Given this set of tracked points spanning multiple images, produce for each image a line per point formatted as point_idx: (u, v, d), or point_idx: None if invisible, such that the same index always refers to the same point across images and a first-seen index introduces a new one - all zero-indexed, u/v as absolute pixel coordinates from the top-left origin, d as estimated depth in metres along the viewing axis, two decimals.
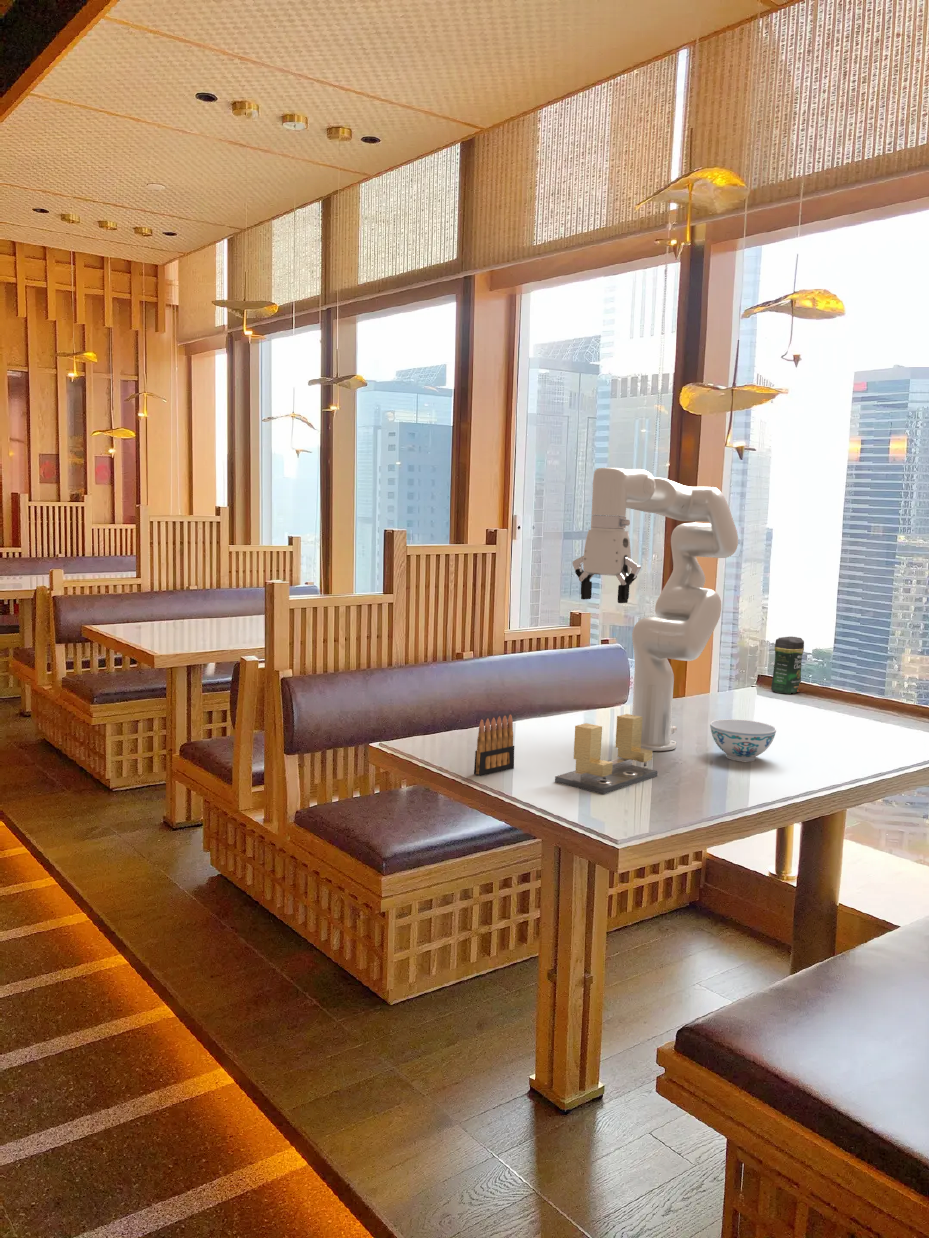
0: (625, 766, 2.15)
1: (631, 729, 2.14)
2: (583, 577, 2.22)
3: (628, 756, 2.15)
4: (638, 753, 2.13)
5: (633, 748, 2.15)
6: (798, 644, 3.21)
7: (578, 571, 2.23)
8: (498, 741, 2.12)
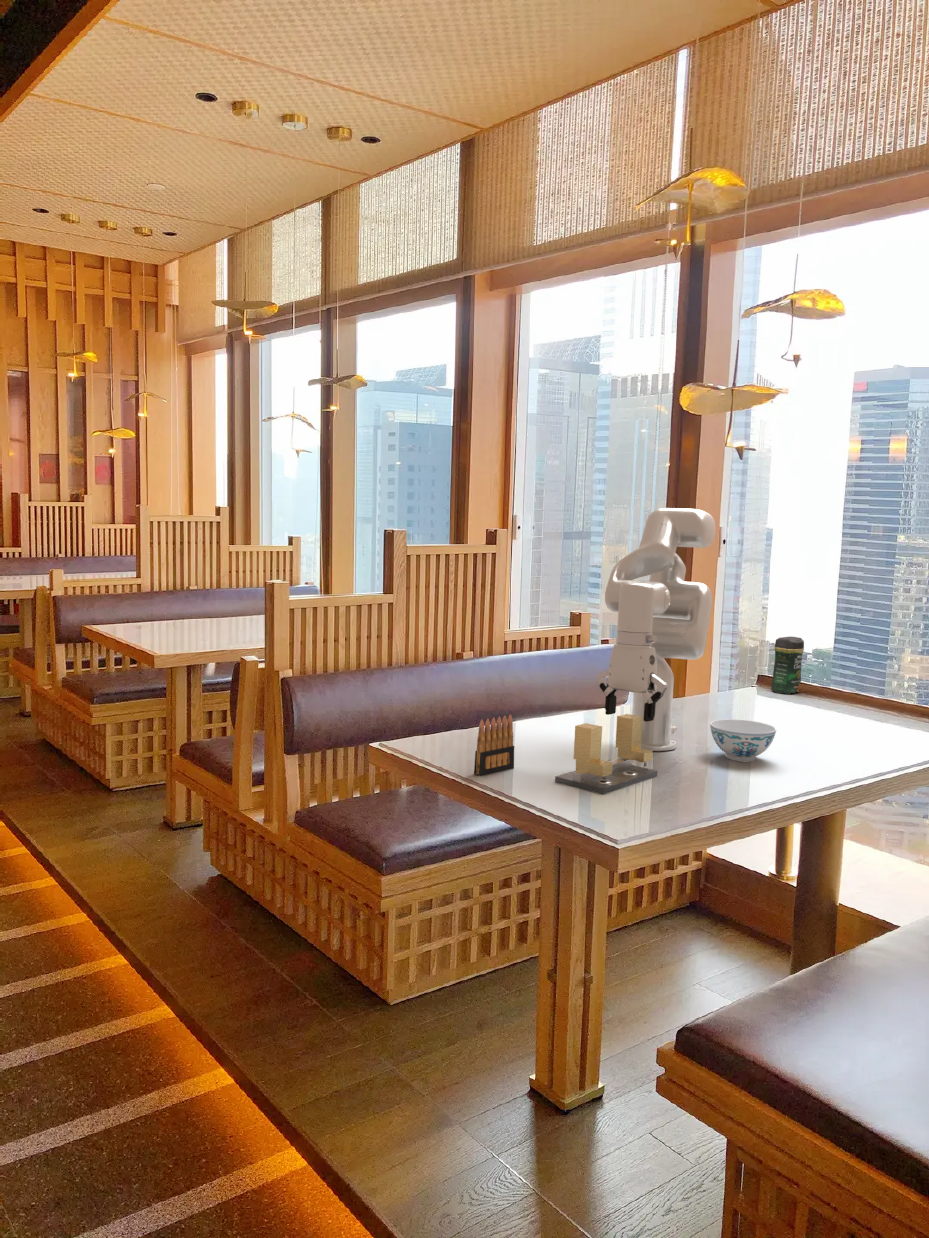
0: (625, 766, 2.15)
1: (631, 729, 2.14)
2: (608, 692, 2.17)
3: (628, 756, 2.15)
4: (638, 753, 2.13)
5: (633, 748, 2.15)
6: (798, 644, 3.21)
7: (602, 685, 2.19)
8: (498, 741, 2.12)
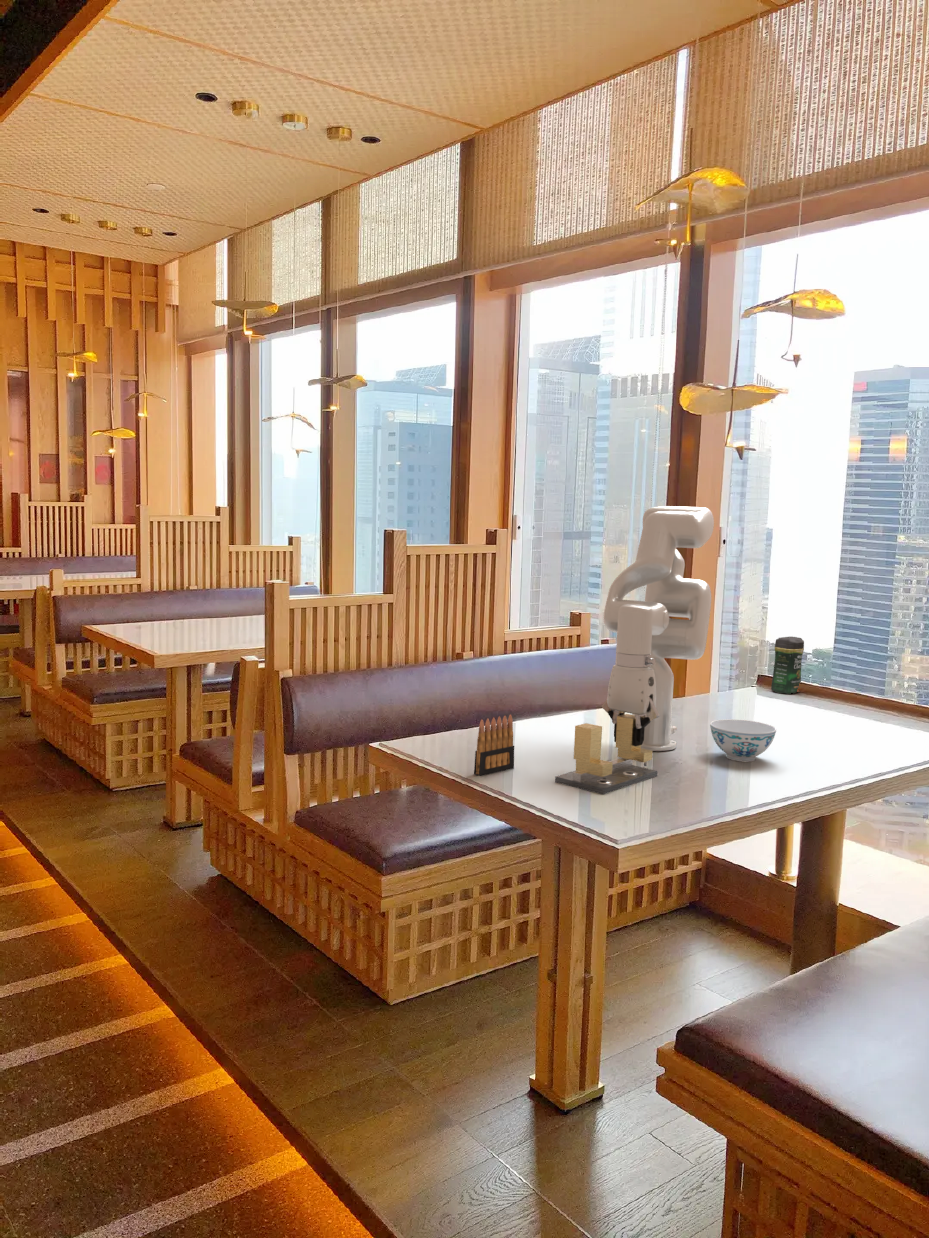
0: (625, 766, 2.15)
1: (631, 729, 2.14)
2: (616, 720, 2.17)
3: (628, 756, 2.15)
4: (638, 753, 2.13)
5: (633, 748, 2.15)
6: (798, 644, 3.21)
7: (611, 713, 2.18)
8: (498, 741, 2.12)
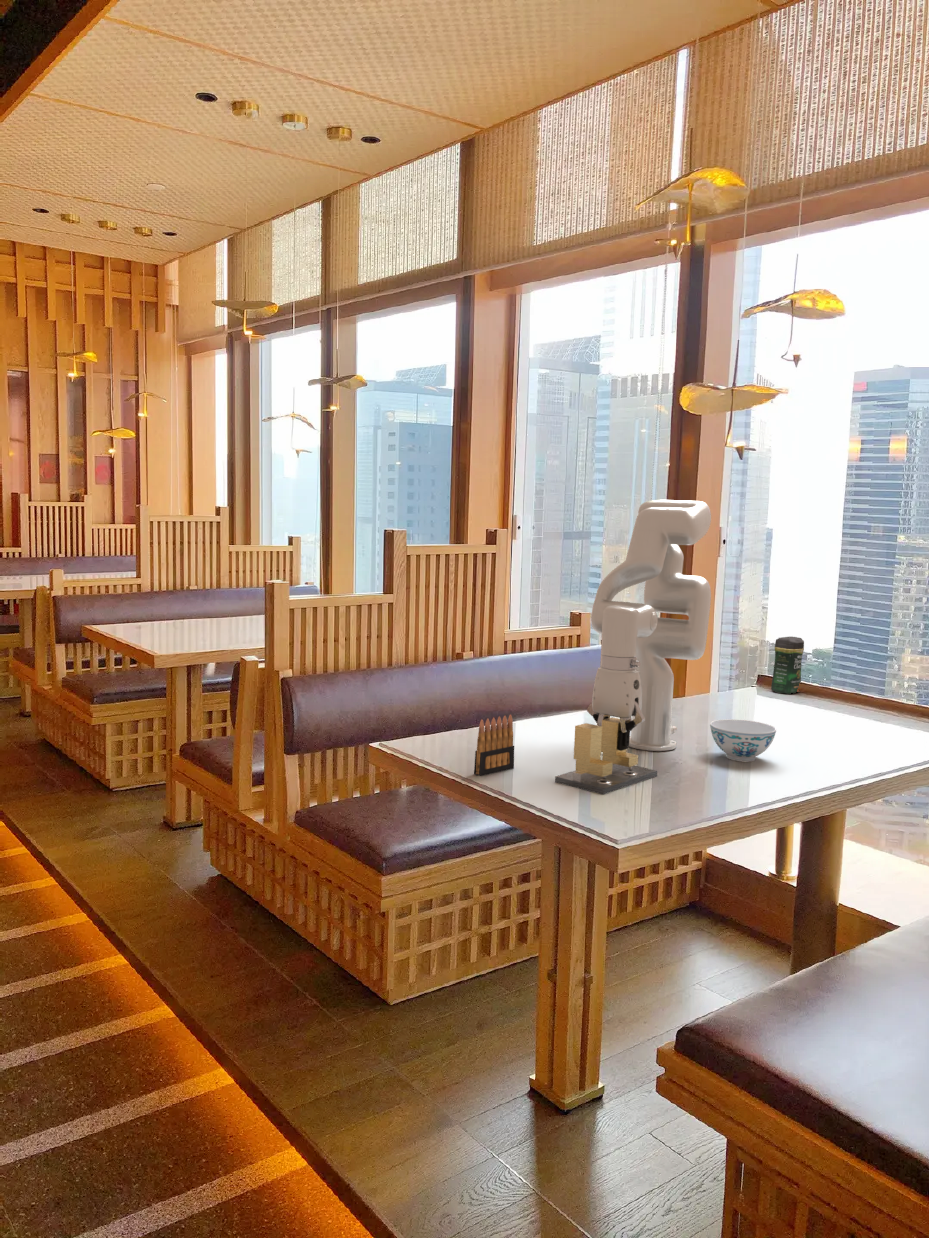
0: (625, 766, 2.15)
1: (616, 733, 2.09)
2: (601, 723, 2.12)
3: (613, 761, 2.10)
4: (623, 757, 2.09)
5: (618, 752, 2.10)
6: (798, 644, 3.21)
7: (596, 716, 2.14)
8: (498, 741, 2.12)
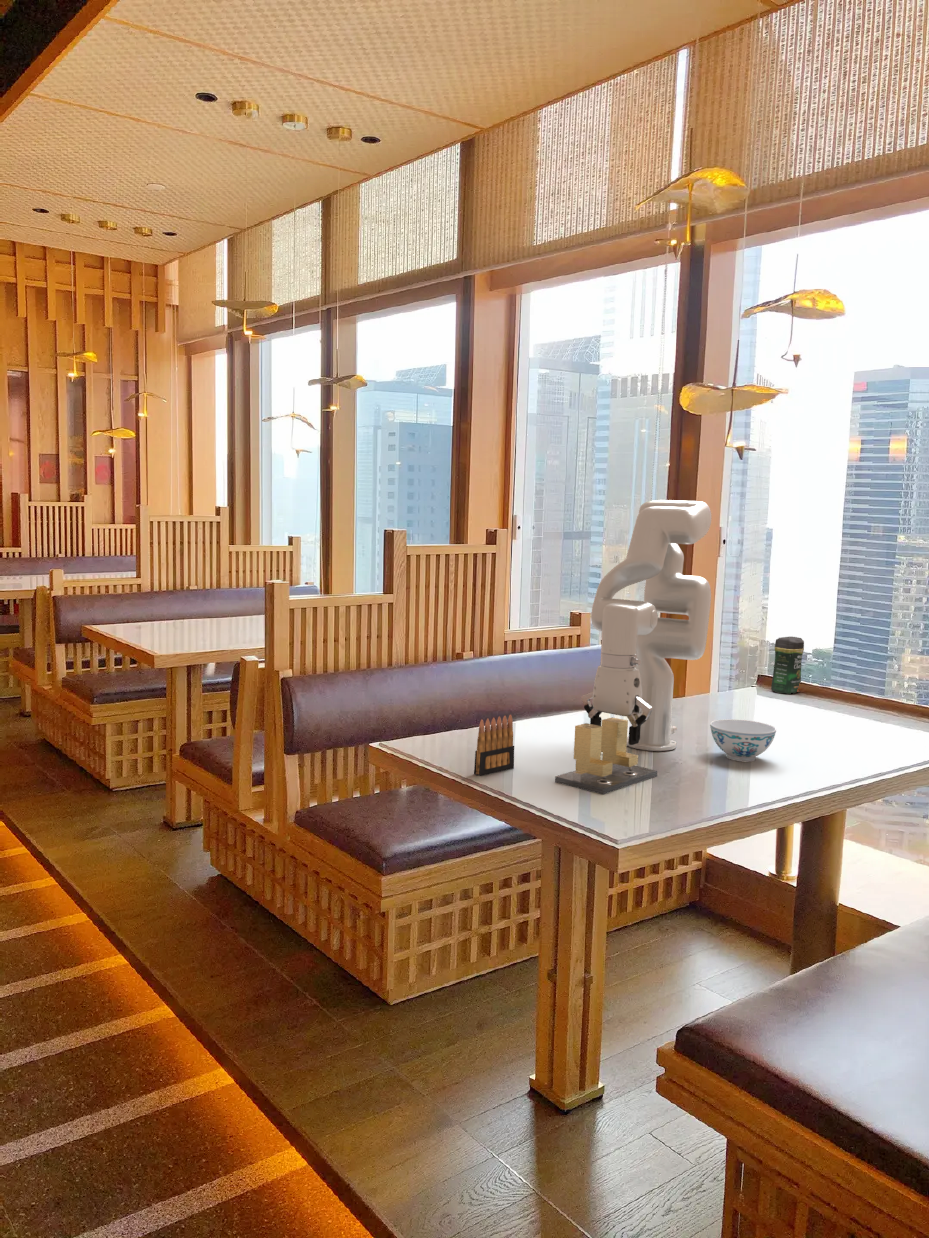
0: (625, 766, 2.15)
1: (616, 733, 2.09)
2: (592, 714, 2.14)
3: (613, 761, 2.10)
4: (623, 757, 2.09)
5: (618, 752, 2.10)
6: (798, 644, 3.21)
7: (587, 707, 2.15)
8: (498, 741, 2.12)
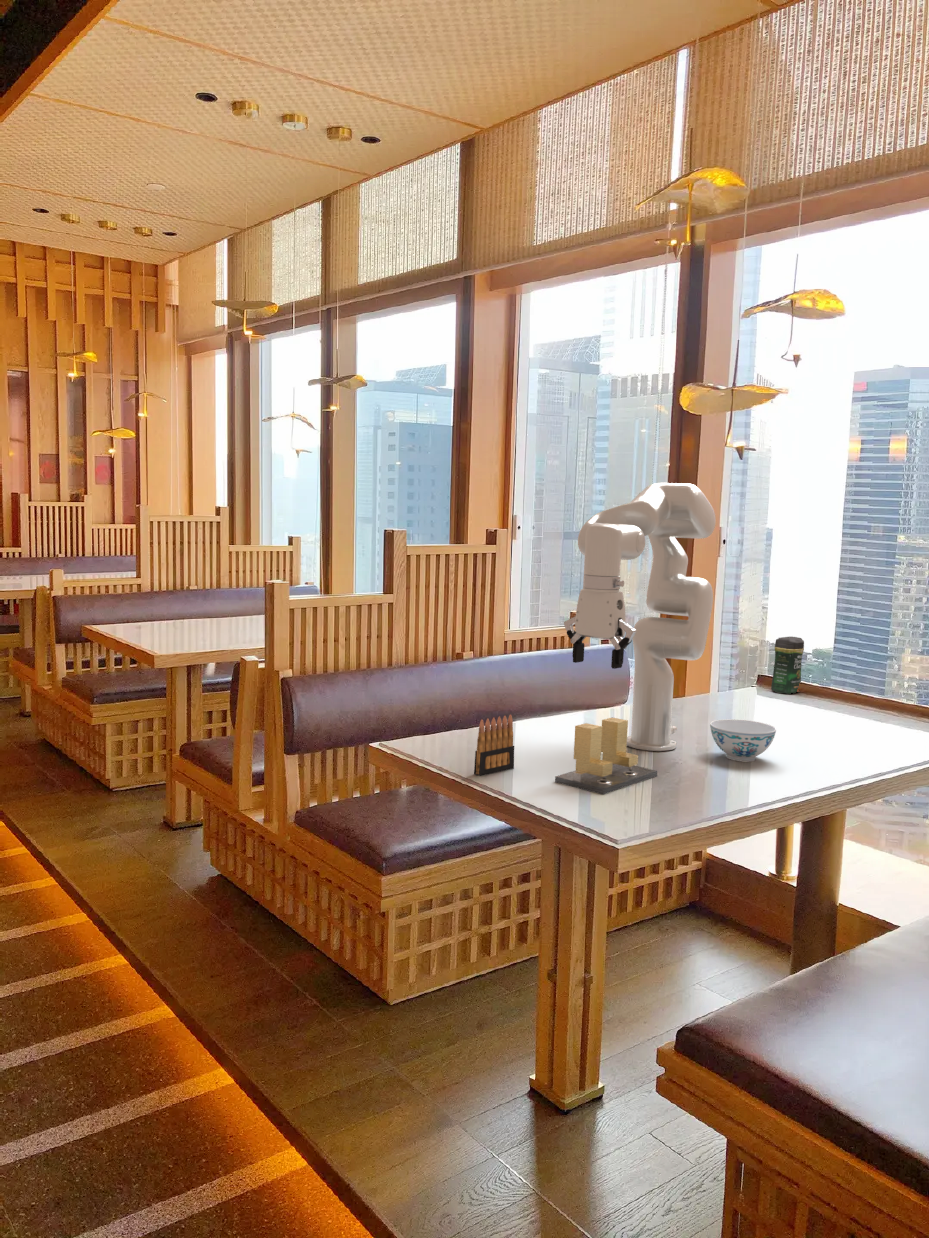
0: (625, 766, 2.15)
1: (616, 733, 2.09)
2: (575, 639, 2.10)
3: (613, 761, 2.10)
4: (623, 757, 2.09)
5: (618, 752, 2.10)
6: (798, 644, 3.21)
7: (570, 632, 2.11)
8: (498, 741, 2.12)
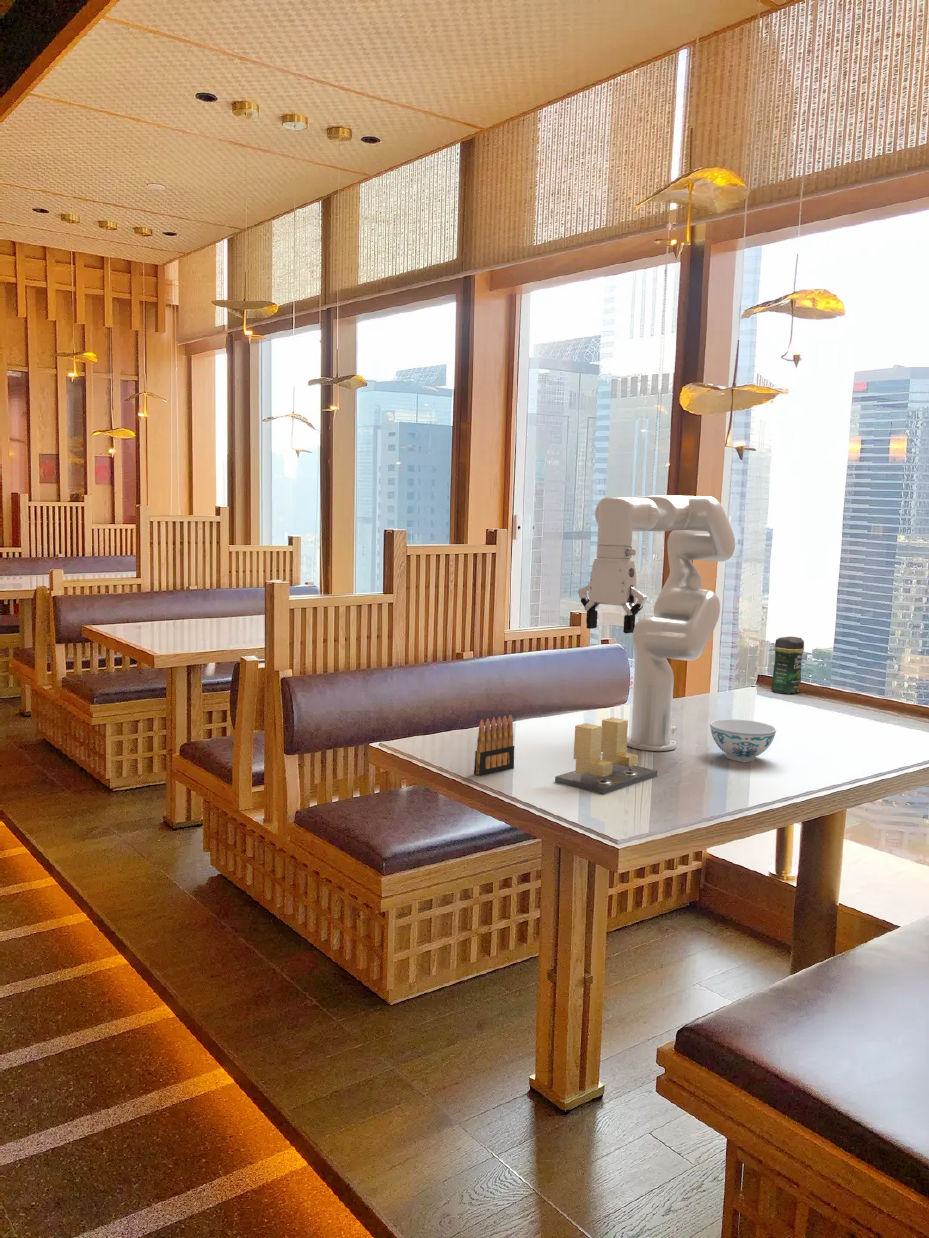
0: (625, 766, 2.15)
1: (616, 733, 2.09)
2: (589, 606, 2.21)
3: (613, 761, 2.10)
4: (623, 757, 2.09)
5: (618, 752, 2.10)
6: (798, 644, 3.21)
7: (584, 600, 2.23)
8: (498, 741, 2.12)
